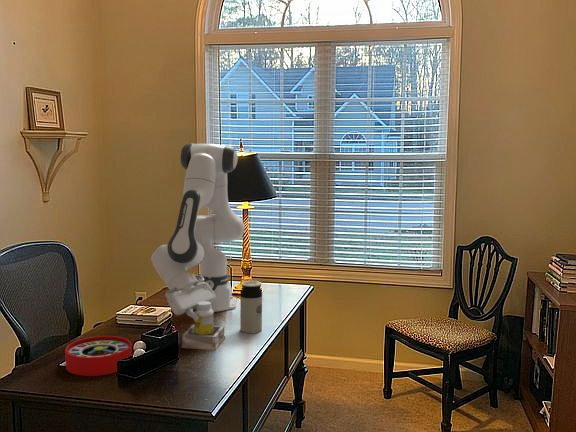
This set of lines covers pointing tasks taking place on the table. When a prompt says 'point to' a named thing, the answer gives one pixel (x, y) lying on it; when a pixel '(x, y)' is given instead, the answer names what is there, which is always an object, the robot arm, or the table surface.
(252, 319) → the travel mug
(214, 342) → the grey square tray
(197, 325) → the pill bottle
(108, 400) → the table surface
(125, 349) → the toy clock
